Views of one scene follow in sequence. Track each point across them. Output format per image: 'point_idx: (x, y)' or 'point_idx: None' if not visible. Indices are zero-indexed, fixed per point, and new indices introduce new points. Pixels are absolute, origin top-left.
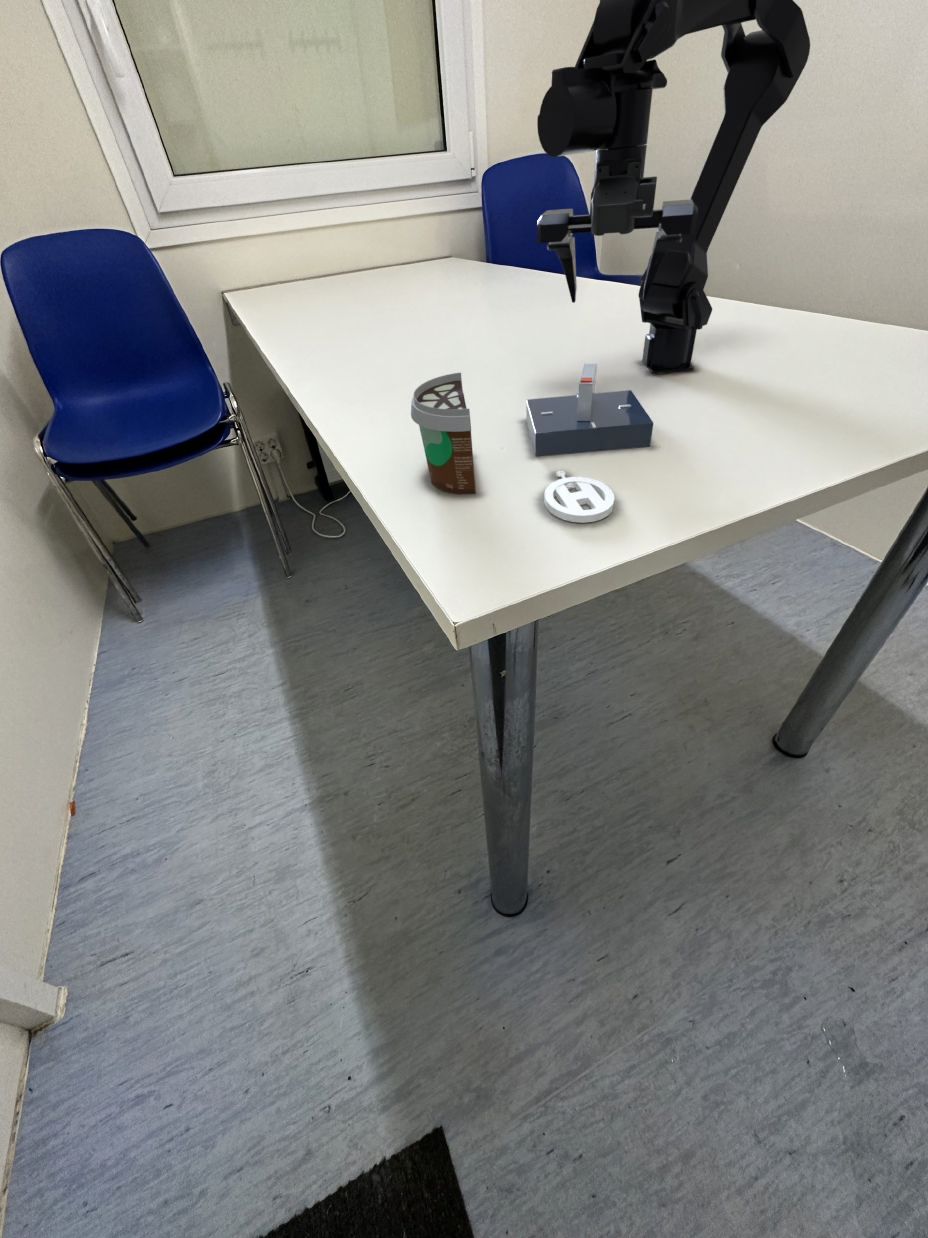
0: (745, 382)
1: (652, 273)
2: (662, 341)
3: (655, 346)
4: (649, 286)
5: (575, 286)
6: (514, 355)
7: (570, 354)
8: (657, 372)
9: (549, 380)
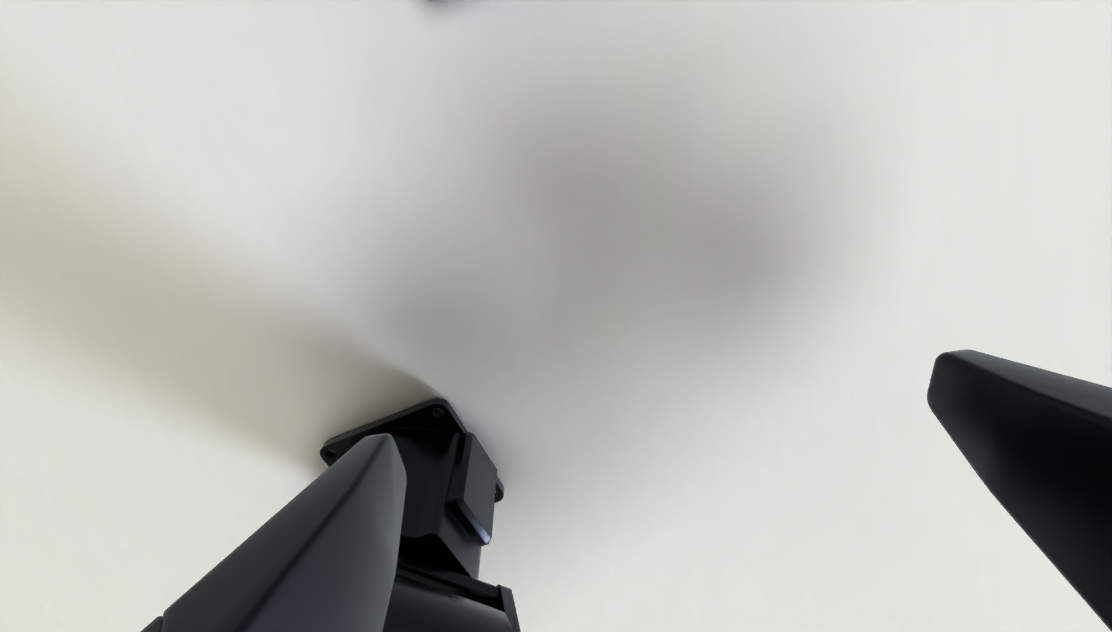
0: (127, 377)
1: (222, 590)
2: (412, 494)
3: (439, 479)
4: (305, 494)
5: (1043, 438)
6: (925, 492)
7: (740, 519)
8: (427, 403)
9: (795, 300)
